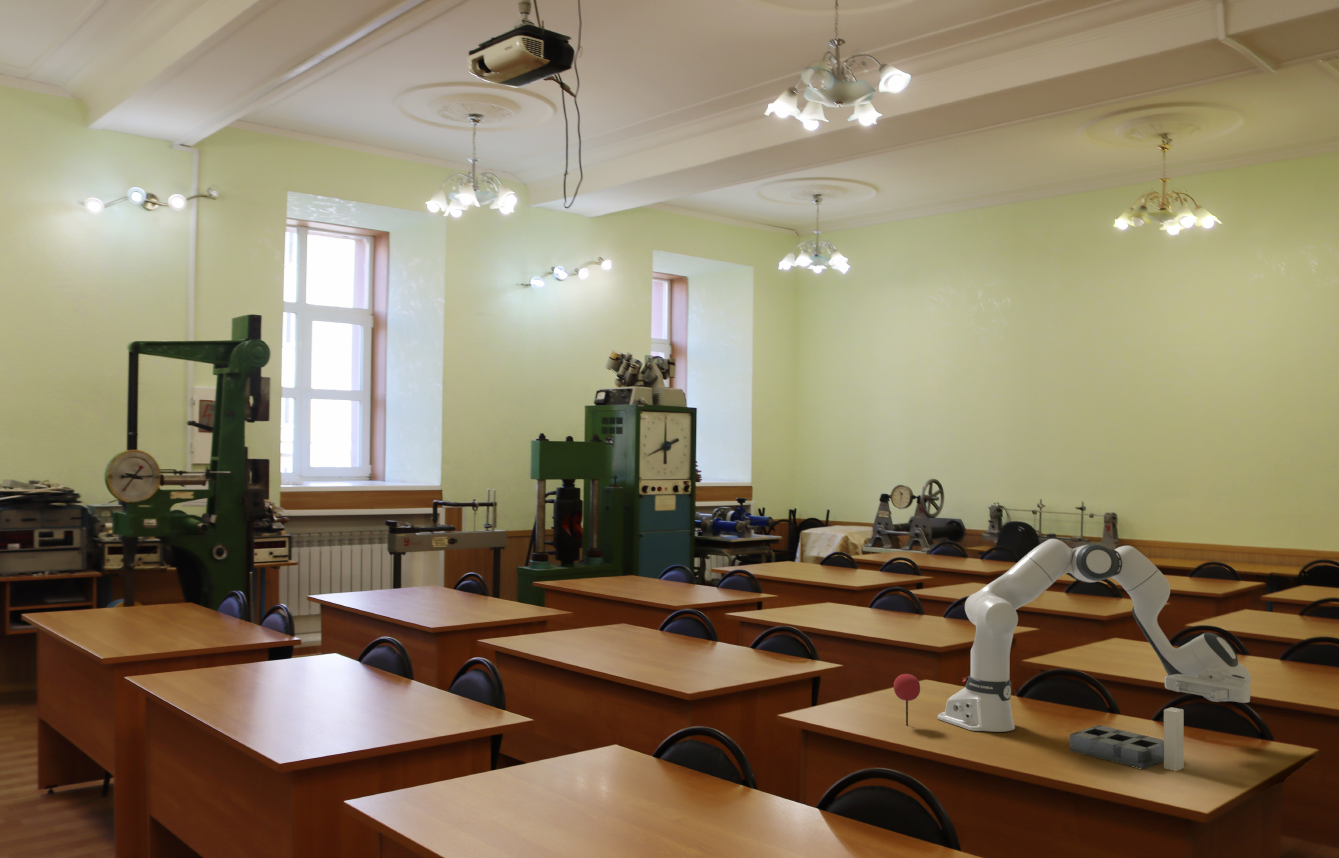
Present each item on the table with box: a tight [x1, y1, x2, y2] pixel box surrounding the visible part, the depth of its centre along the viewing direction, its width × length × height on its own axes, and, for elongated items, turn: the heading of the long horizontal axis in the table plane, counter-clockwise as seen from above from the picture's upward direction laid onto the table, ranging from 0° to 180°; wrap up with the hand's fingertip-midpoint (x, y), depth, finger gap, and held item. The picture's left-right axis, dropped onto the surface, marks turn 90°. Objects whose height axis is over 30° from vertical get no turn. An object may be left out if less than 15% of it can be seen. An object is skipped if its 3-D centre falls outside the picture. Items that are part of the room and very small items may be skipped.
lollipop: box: [893, 673, 921, 726], centre depth 281 cm, size 8×8×15 cm
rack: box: [1069, 724, 1164, 770], centre depth 256 cm, size 16×20×4 cm
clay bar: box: [1163, 706, 1185, 772], centre depth 245 cm, size 4×3×15 cm, turn 129°
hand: (1194, 691), depth 253 cm, fingers open, 8 cm apart
